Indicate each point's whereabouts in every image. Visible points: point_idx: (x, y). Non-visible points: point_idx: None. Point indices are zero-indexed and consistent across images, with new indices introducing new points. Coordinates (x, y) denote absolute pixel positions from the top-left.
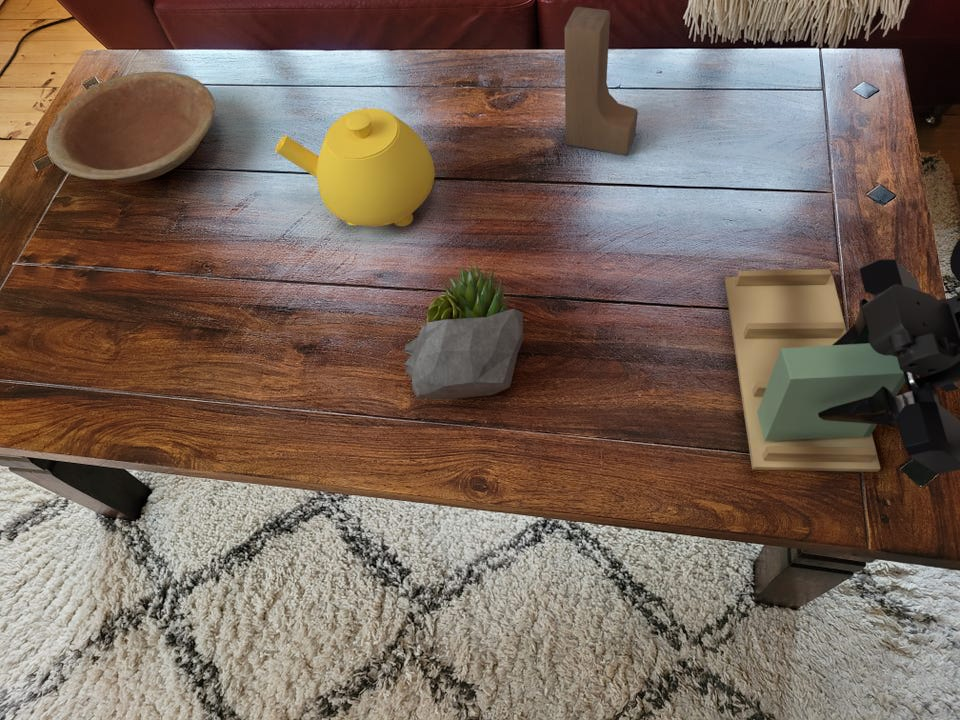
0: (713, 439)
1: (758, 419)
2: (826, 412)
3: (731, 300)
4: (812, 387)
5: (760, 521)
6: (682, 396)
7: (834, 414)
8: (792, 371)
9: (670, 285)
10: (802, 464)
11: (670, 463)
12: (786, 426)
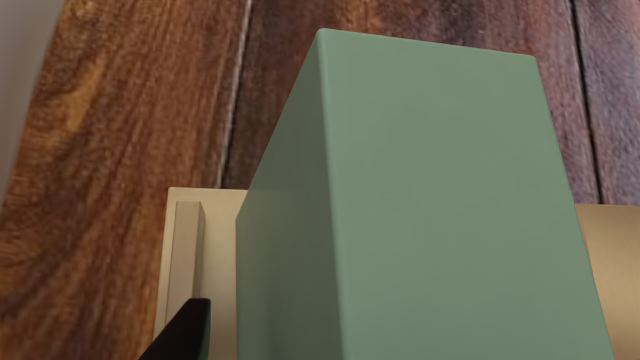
0: (258, 120)
1: None
2: (184, 323)
3: (628, 210)
4: (298, 222)
5: (22, 189)
6: None
7: (142, 354)
8: (378, 56)
9: (632, 98)
10: (164, 316)
11: (201, 25)
12: (244, 246)
